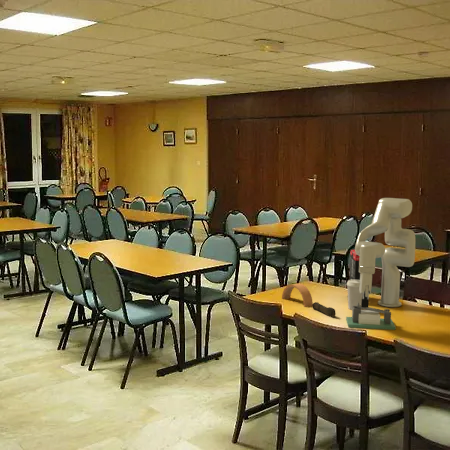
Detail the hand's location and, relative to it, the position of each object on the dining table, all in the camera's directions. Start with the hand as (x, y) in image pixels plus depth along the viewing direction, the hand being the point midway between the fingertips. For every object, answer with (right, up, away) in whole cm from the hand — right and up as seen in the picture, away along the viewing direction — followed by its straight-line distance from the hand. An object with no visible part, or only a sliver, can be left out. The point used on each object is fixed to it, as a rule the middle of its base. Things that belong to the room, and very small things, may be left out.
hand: (364, 306), depth 295 cm
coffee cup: (+1, -5, +30) cm, 31 cm away
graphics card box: (+7, -3, +49) cm, 50 cm away
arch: (-28, -3, +42) cm, 51 cm away
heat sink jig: (+3, -9, +1) cm, 9 cm away
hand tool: (-16, -7, +20) cm, 27 cm away
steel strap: (+4, -2, 0) cm, 4 cm away
